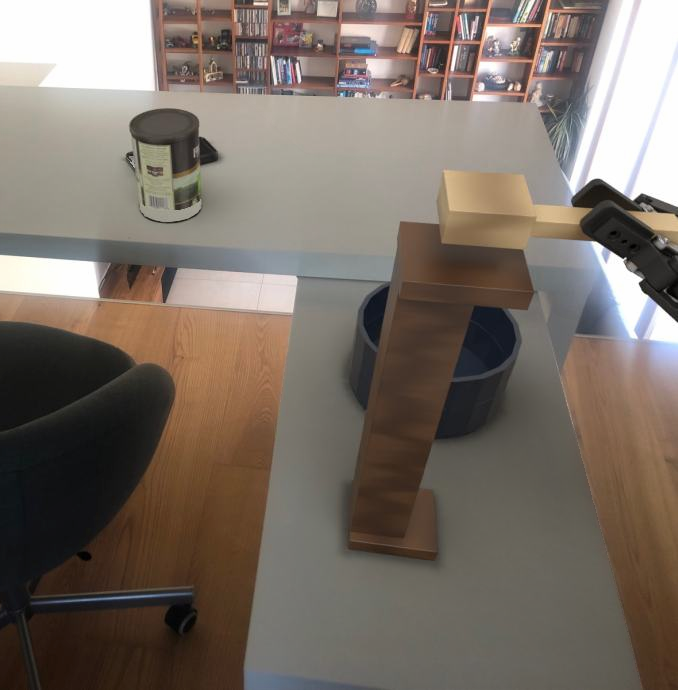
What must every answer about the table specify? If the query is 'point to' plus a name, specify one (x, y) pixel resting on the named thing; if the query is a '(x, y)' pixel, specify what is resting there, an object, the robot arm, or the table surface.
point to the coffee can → (166, 158)
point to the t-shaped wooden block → (514, 213)
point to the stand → (420, 380)
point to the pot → (471, 369)
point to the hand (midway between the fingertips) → (588, 203)
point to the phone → (206, 152)
